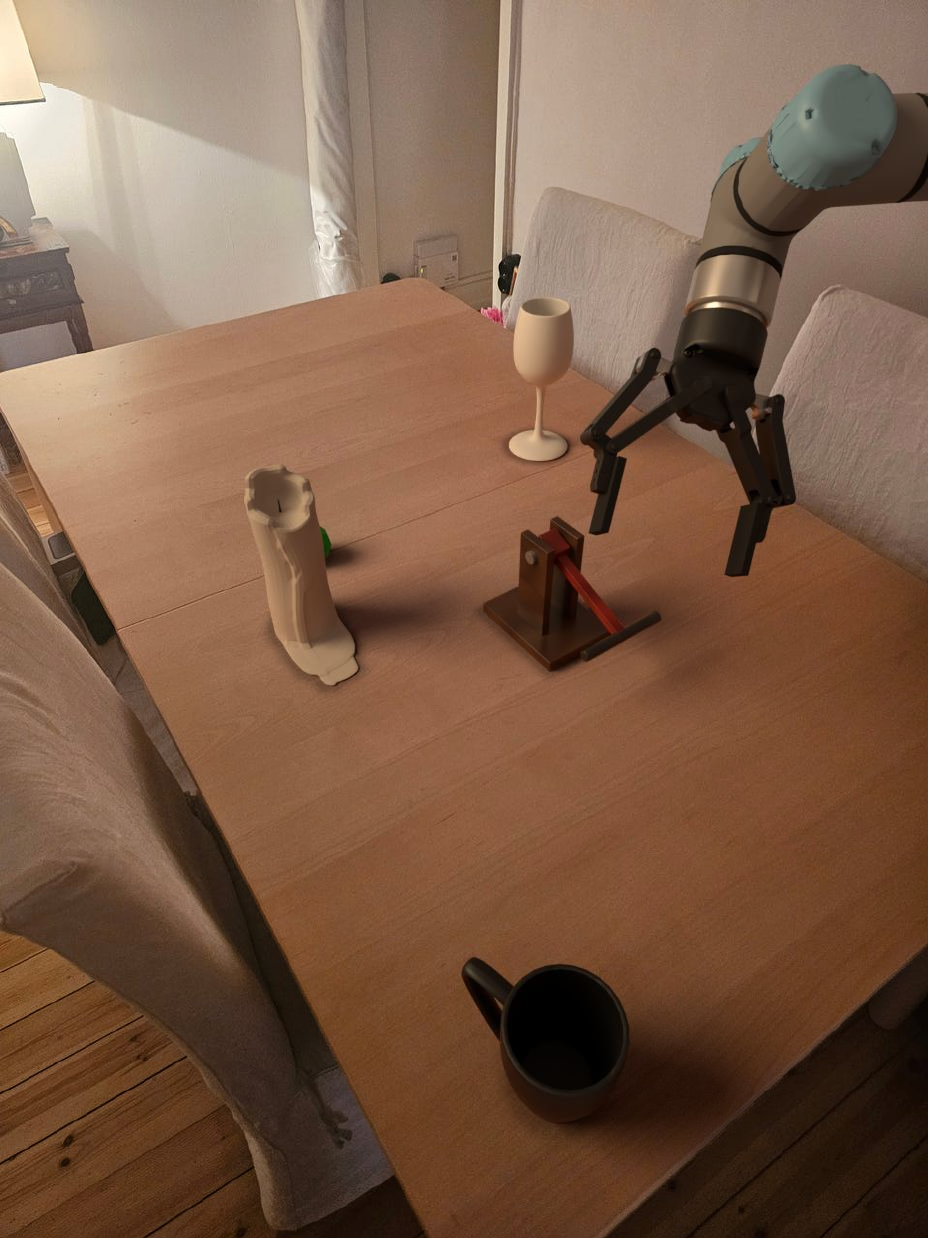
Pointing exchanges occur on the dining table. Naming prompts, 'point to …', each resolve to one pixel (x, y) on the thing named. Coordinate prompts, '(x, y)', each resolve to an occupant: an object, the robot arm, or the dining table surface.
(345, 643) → the candle
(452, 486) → the dining table surface
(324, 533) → the polyhedron
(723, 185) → the robot arm
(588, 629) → the rod stand
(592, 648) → the red lever
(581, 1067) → the mug
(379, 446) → the dining table surface
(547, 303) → the wineglass
